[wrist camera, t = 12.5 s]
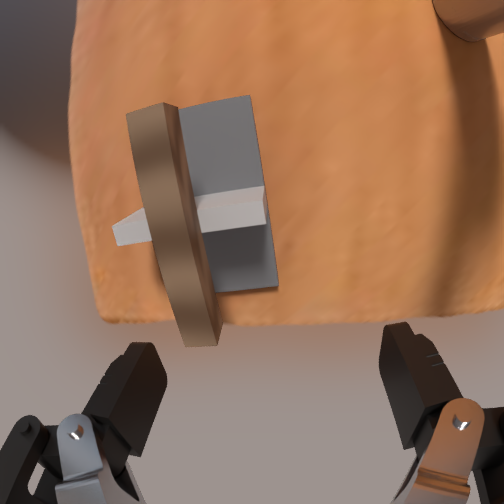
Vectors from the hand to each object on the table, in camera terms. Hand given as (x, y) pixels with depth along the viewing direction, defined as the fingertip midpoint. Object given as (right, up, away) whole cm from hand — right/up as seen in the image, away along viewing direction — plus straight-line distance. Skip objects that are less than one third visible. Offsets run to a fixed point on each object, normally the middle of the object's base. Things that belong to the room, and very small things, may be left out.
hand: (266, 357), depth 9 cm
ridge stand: (-6, +9, +24) cm, 26 cm away
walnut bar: (-6, +6, +15) cm, 17 cm away
